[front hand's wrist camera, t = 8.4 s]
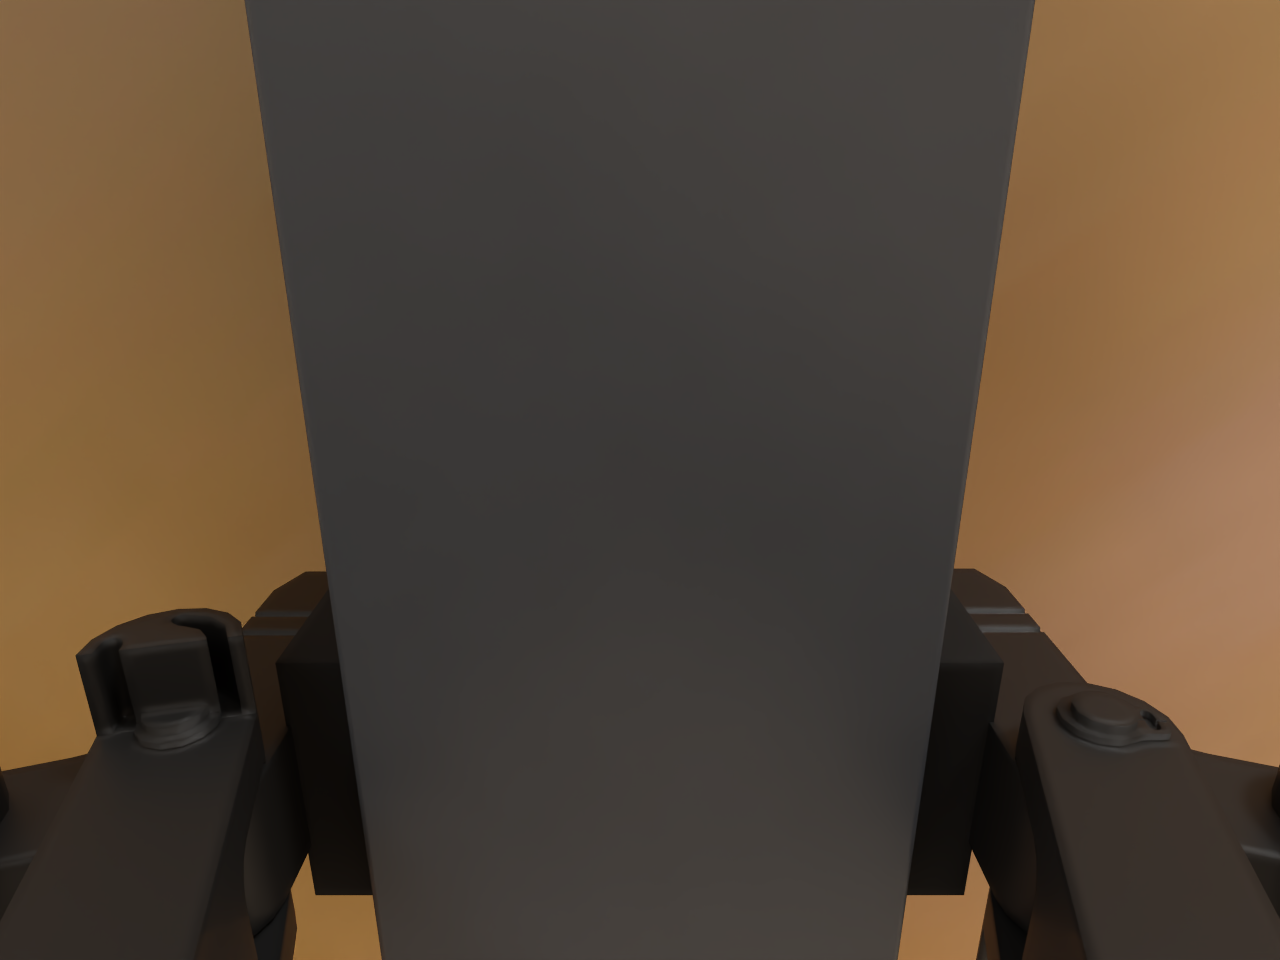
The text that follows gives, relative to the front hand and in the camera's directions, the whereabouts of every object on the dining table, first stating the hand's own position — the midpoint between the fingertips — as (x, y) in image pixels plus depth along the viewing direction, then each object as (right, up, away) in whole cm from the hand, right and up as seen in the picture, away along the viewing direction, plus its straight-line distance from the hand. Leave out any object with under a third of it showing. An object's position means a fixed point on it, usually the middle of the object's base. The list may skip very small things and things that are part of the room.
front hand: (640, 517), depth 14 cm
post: (0, +26, -9) cm, 28 cm away
